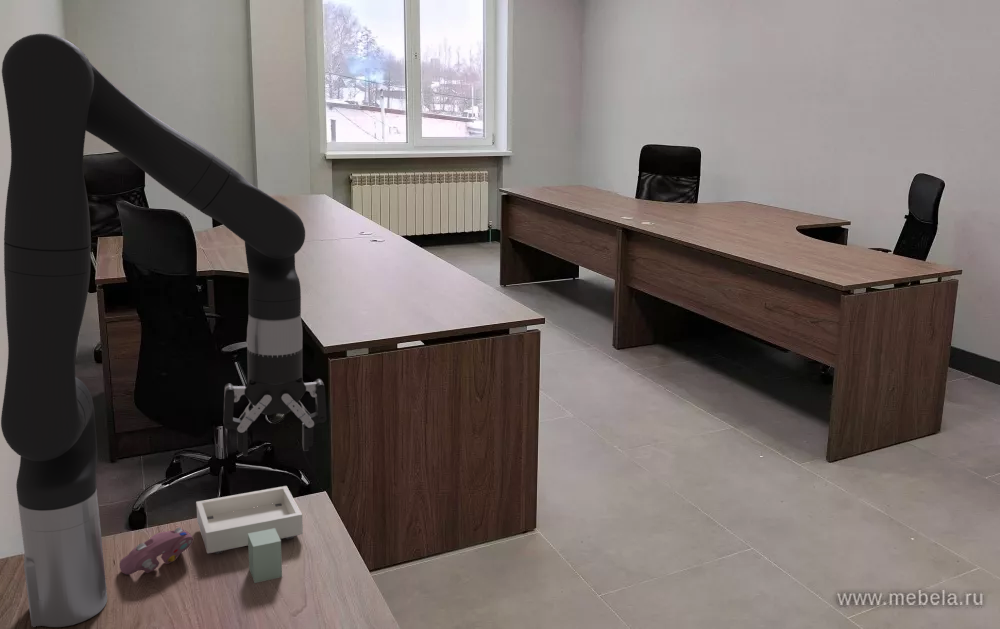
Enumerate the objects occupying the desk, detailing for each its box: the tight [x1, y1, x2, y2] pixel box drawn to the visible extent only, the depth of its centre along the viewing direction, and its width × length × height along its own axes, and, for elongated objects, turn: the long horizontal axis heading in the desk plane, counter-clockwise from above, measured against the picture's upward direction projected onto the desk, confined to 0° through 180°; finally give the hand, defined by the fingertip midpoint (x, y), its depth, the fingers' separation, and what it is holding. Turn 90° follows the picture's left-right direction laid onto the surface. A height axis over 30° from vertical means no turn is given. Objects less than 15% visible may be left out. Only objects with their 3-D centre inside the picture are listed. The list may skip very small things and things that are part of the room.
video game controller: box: [119, 526, 194, 575], centre depth 124 cm, size 10×5×7 cm, turn 143°
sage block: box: [247, 528, 283, 584], centre depth 123 cm, size 4×4×6 cm
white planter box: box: [195, 485, 304, 555], centre depth 133 cm, size 15×11×5 cm
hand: (275, 451), depth 120 cm, fingers open, 8 cm apart
